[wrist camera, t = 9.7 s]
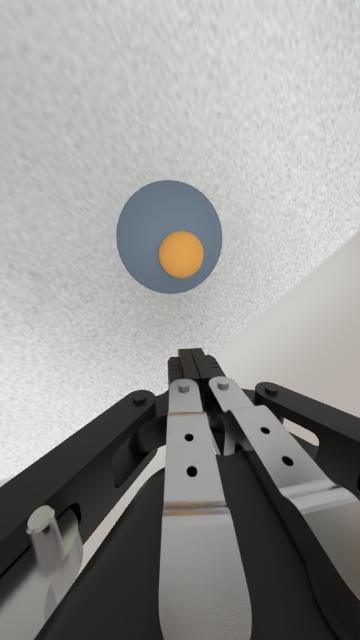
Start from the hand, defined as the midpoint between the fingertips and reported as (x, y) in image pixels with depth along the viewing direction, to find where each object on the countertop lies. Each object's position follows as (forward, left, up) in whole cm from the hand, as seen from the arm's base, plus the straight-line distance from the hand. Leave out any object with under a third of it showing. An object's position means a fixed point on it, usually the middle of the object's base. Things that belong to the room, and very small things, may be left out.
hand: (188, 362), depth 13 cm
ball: (+1, +7, -14) cm, 16 cm away
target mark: (0, +9, -17) cm, 19 cm away
